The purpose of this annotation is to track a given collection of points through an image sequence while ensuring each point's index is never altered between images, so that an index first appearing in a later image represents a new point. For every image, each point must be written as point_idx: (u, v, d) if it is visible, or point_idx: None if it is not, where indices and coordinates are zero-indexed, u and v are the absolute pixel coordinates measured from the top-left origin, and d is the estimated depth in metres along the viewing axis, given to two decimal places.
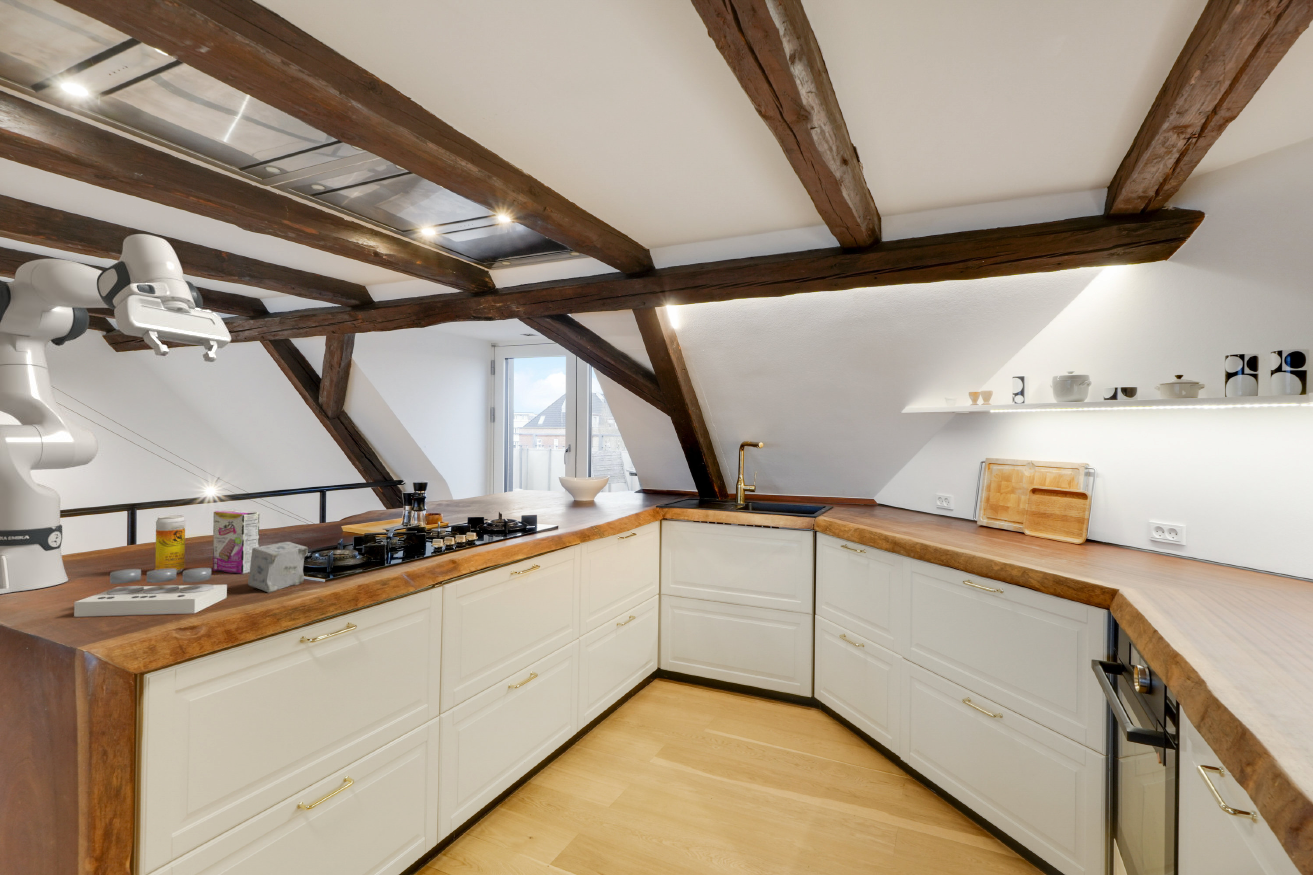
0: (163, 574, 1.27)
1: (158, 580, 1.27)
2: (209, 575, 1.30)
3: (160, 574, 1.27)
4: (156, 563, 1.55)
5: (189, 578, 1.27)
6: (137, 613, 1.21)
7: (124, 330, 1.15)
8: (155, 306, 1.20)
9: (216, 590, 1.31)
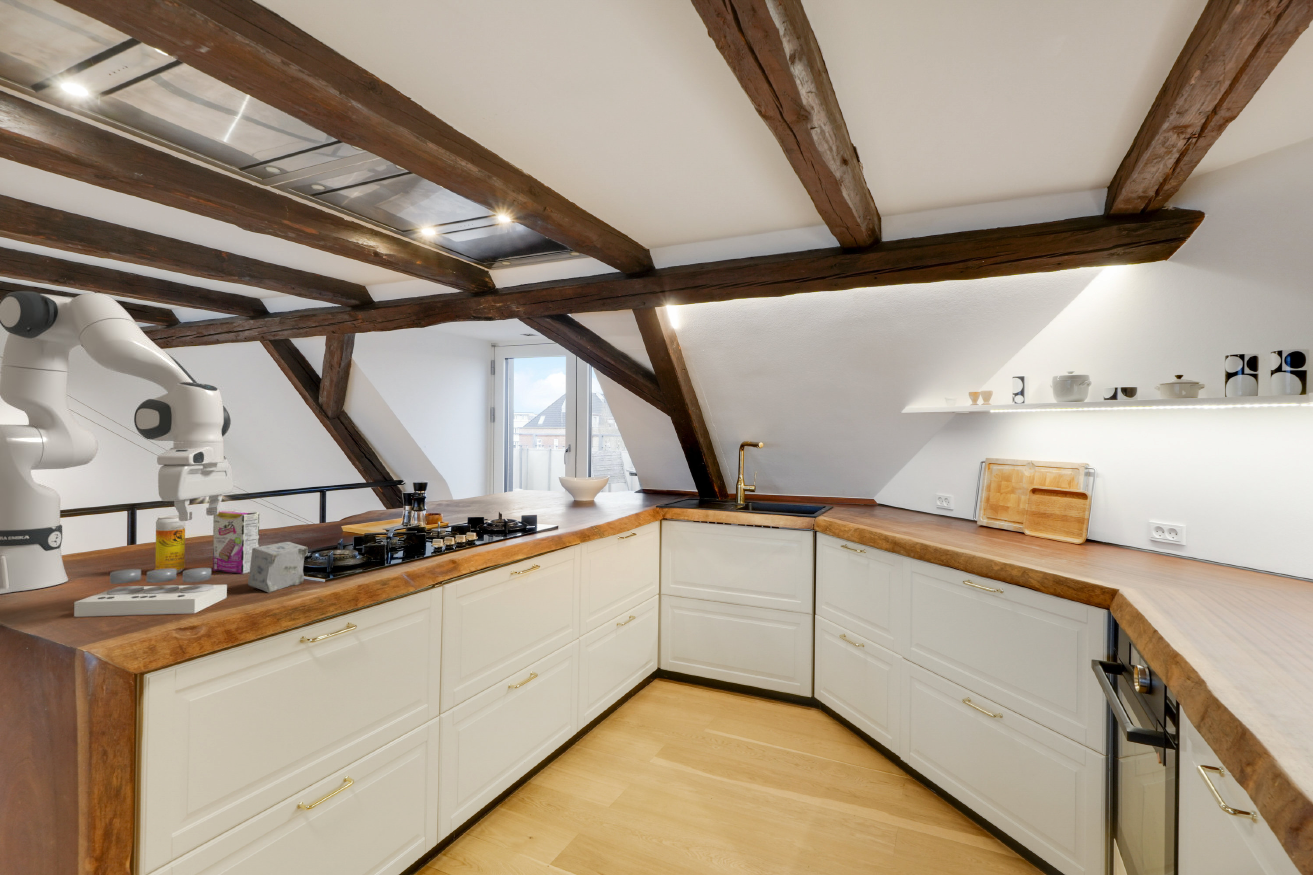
0: (163, 574, 1.27)
1: (158, 580, 1.27)
2: (209, 575, 1.30)
3: (160, 574, 1.27)
4: (156, 563, 1.55)
5: (189, 578, 1.27)
6: (137, 613, 1.21)
7: (165, 499, 1.20)
8: (196, 471, 1.26)
9: (216, 590, 1.31)
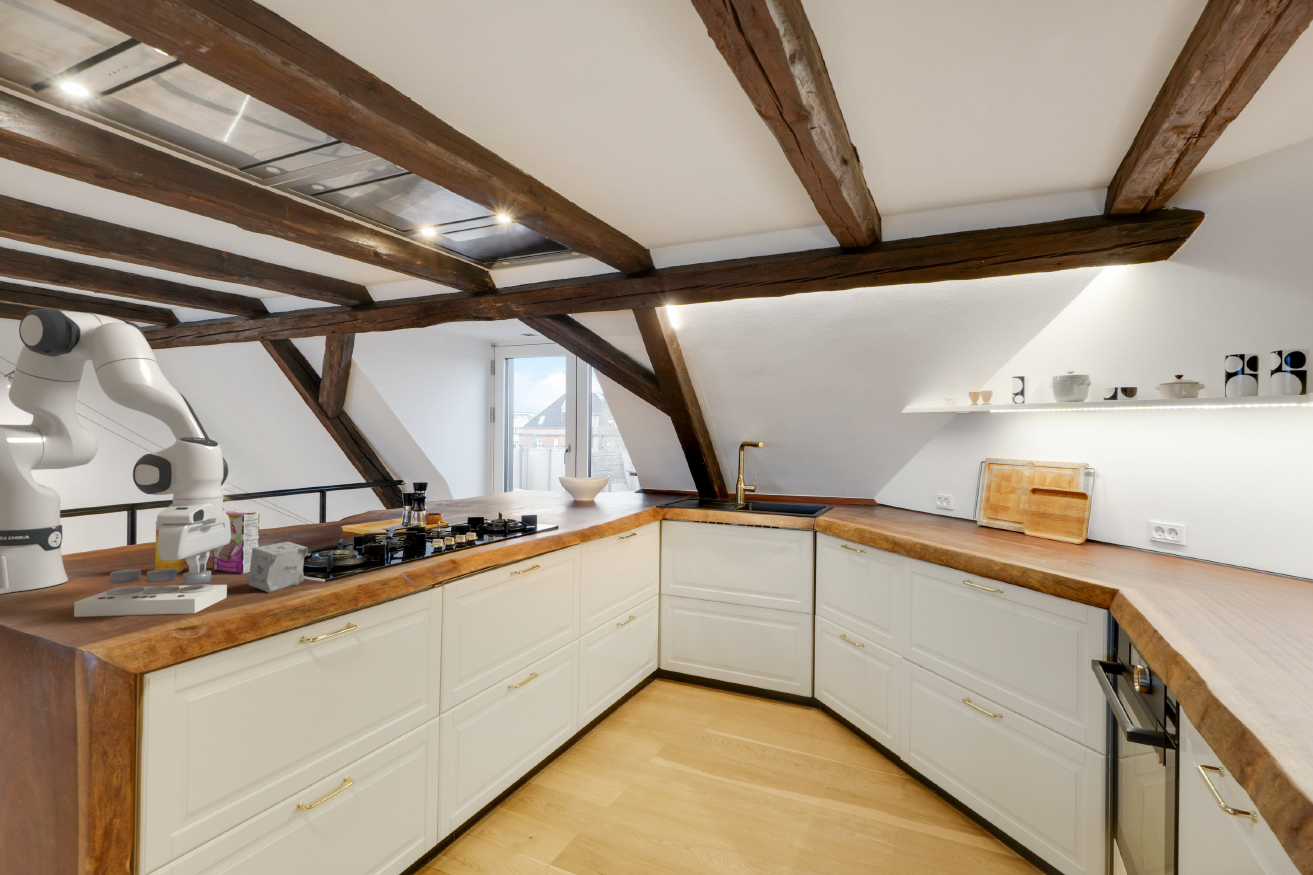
0: (163, 574, 1.27)
1: (158, 580, 1.27)
2: (209, 578, 1.30)
3: (160, 574, 1.27)
4: (156, 563, 1.55)
5: (189, 581, 1.27)
6: (137, 613, 1.21)
7: (164, 559, 1.20)
8: (195, 528, 1.26)
9: (216, 590, 1.31)
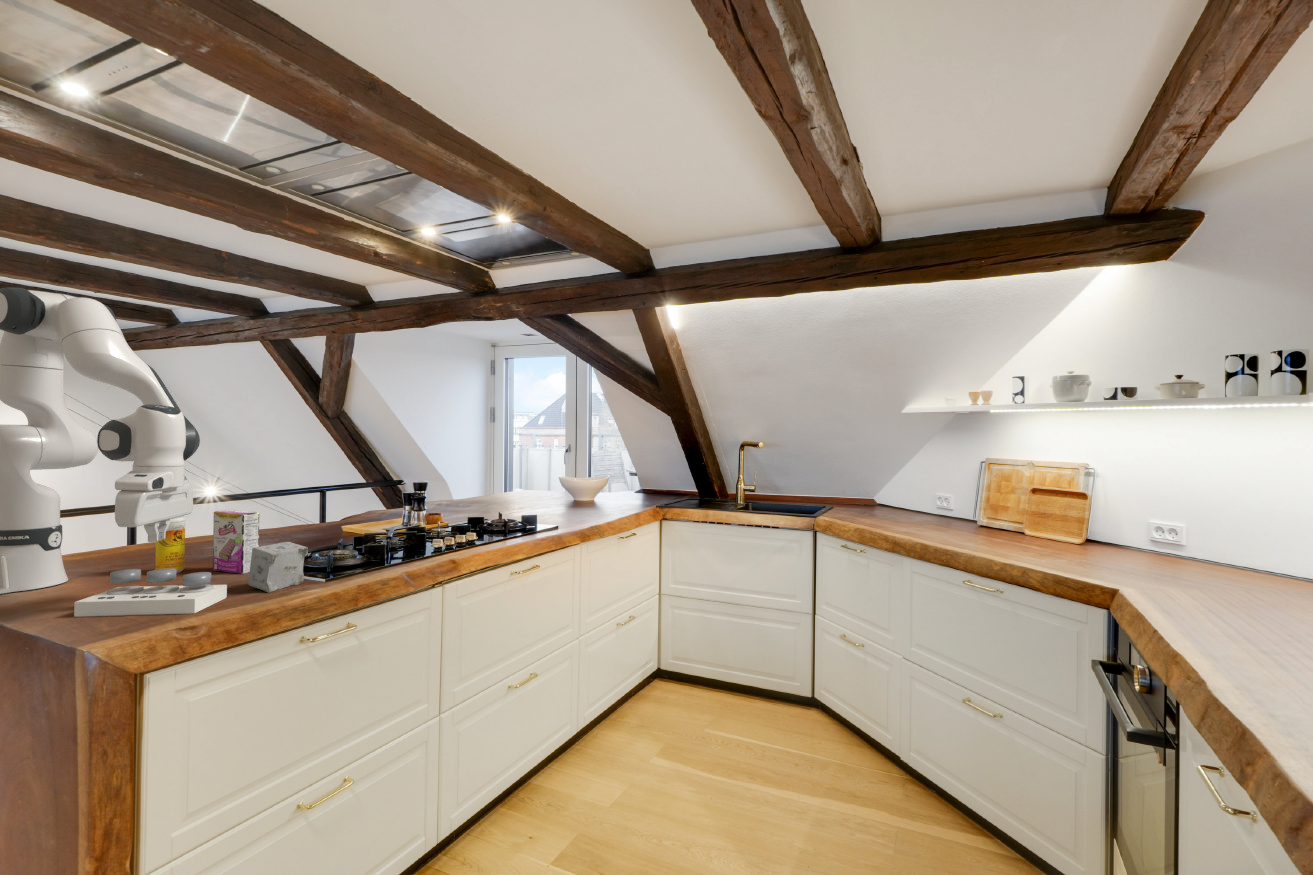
0: (163, 574, 1.27)
1: (158, 580, 1.27)
2: (209, 579, 1.30)
3: (160, 574, 1.27)
4: (156, 563, 1.55)
5: (189, 582, 1.27)
6: (137, 613, 1.21)
7: (121, 525, 1.19)
8: (154, 496, 1.25)
9: (216, 590, 1.31)
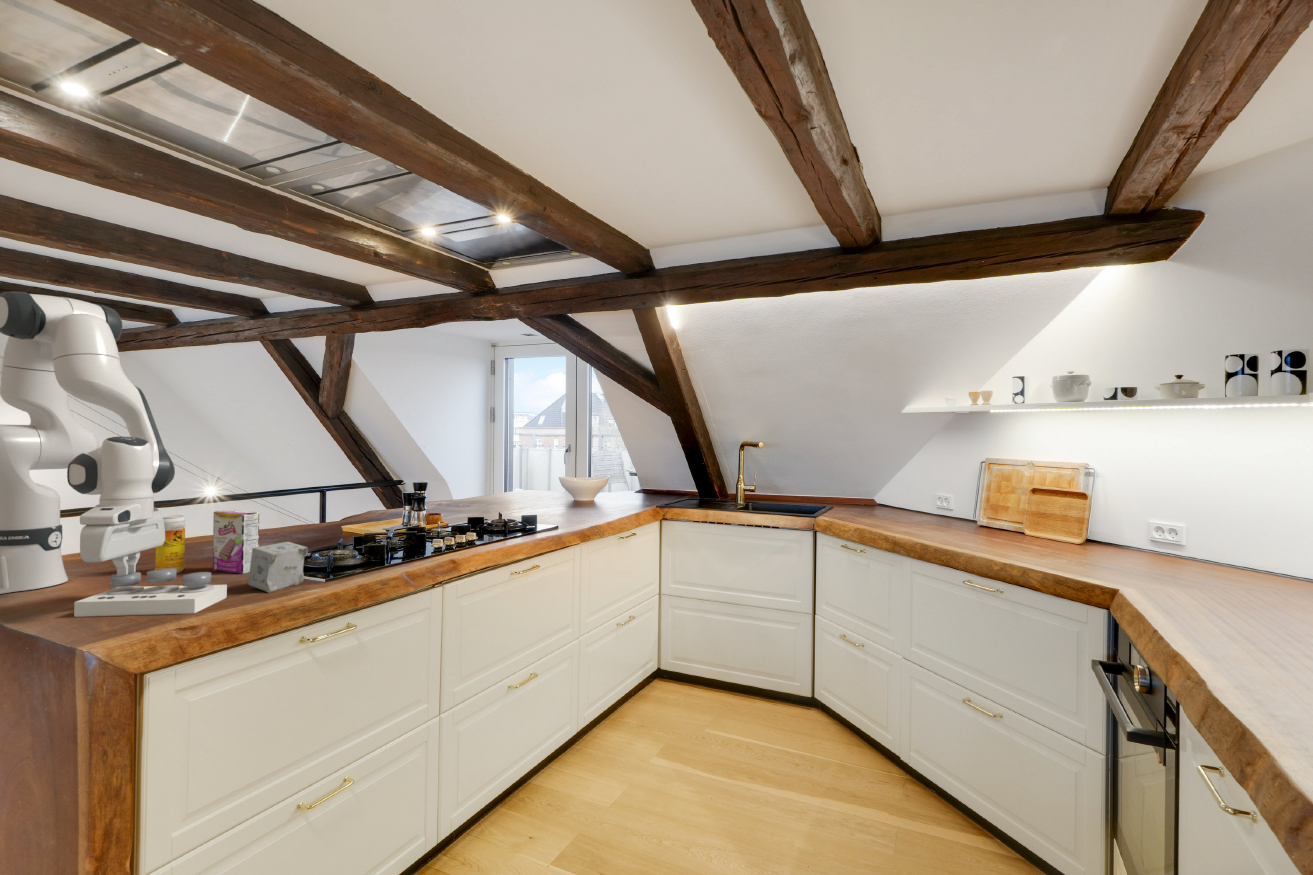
0: (163, 574, 1.27)
1: (158, 580, 1.27)
2: (209, 579, 1.30)
3: (160, 574, 1.27)
4: (156, 563, 1.55)
5: (189, 582, 1.27)
6: (137, 613, 1.21)
7: (86, 560, 1.18)
8: (122, 530, 1.24)
9: (216, 590, 1.31)
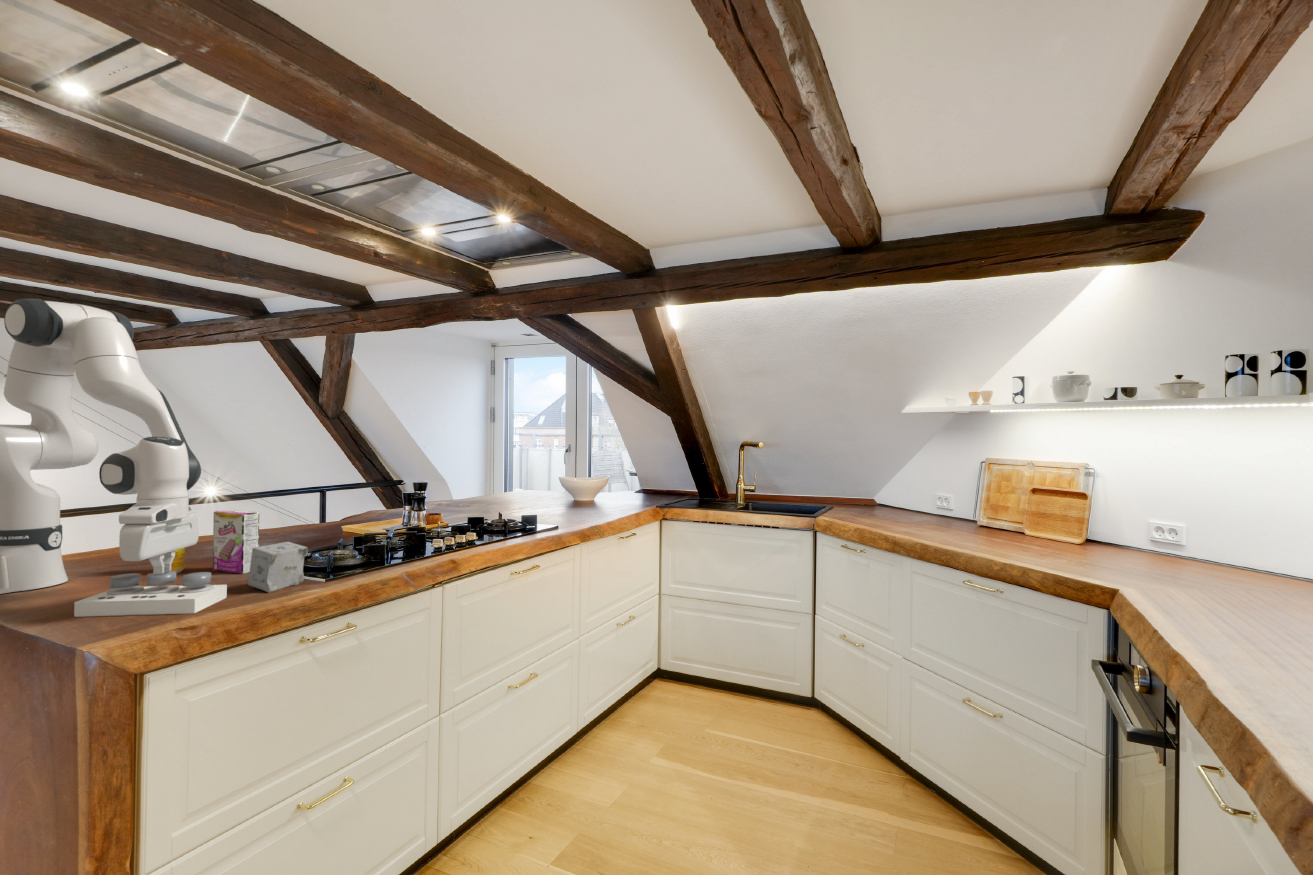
0: (163, 577, 1.27)
1: (158, 583, 1.27)
2: (209, 579, 1.30)
3: (160, 577, 1.27)
4: None
5: (189, 582, 1.27)
6: (137, 613, 1.21)
7: (126, 559, 1.19)
8: (159, 529, 1.25)
9: (216, 590, 1.31)
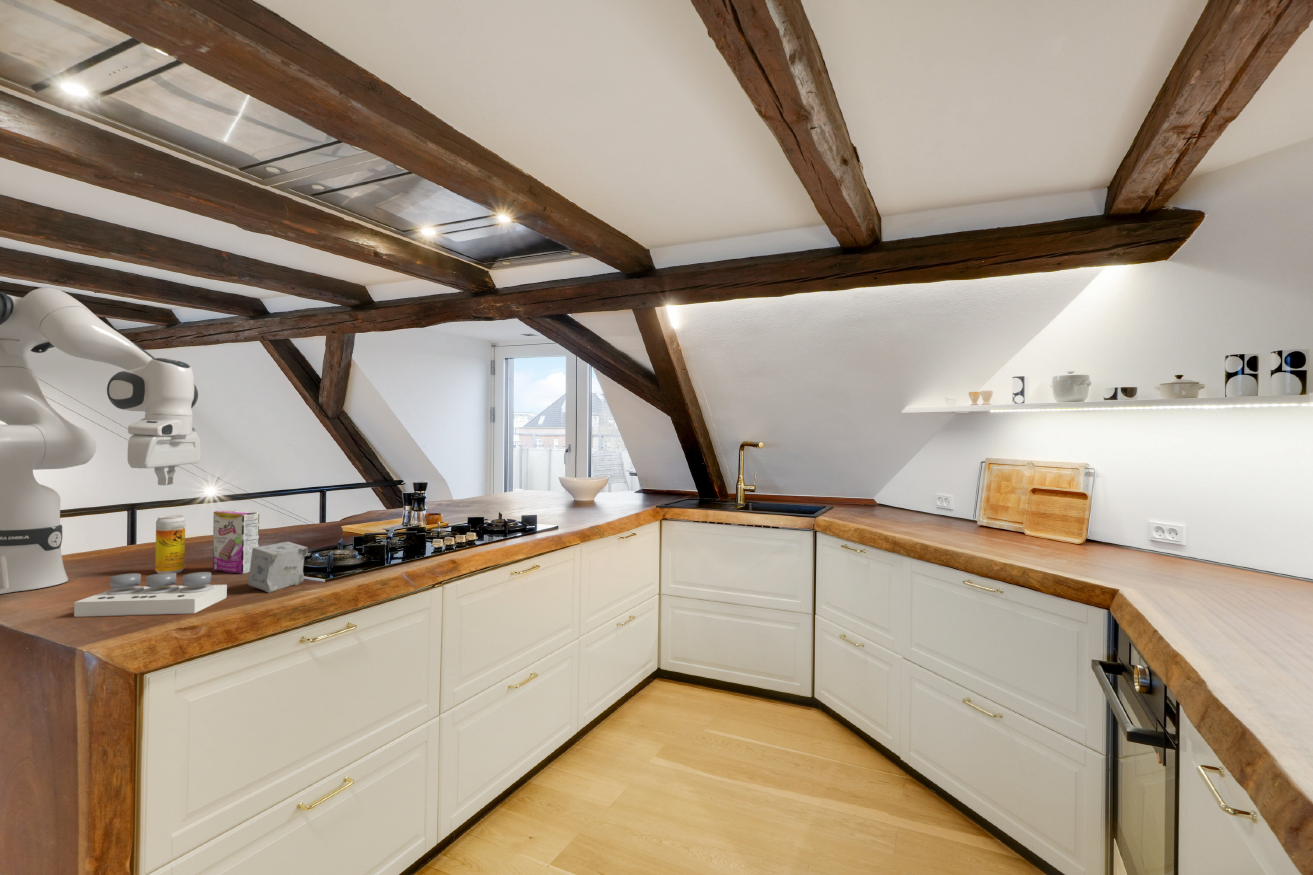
0: (163, 578, 1.27)
1: (158, 584, 1.27)
2: (209, 579, 1.30)
3: (160, 579, 1.27)
4: (156, 563, 1.55)
5: (189, 582, 1.27)
6: (137, 613, 1.21)
7: (133, 466, 1.30)
8: (164, 442, 1.35)
9: (216, 590, 1.31)
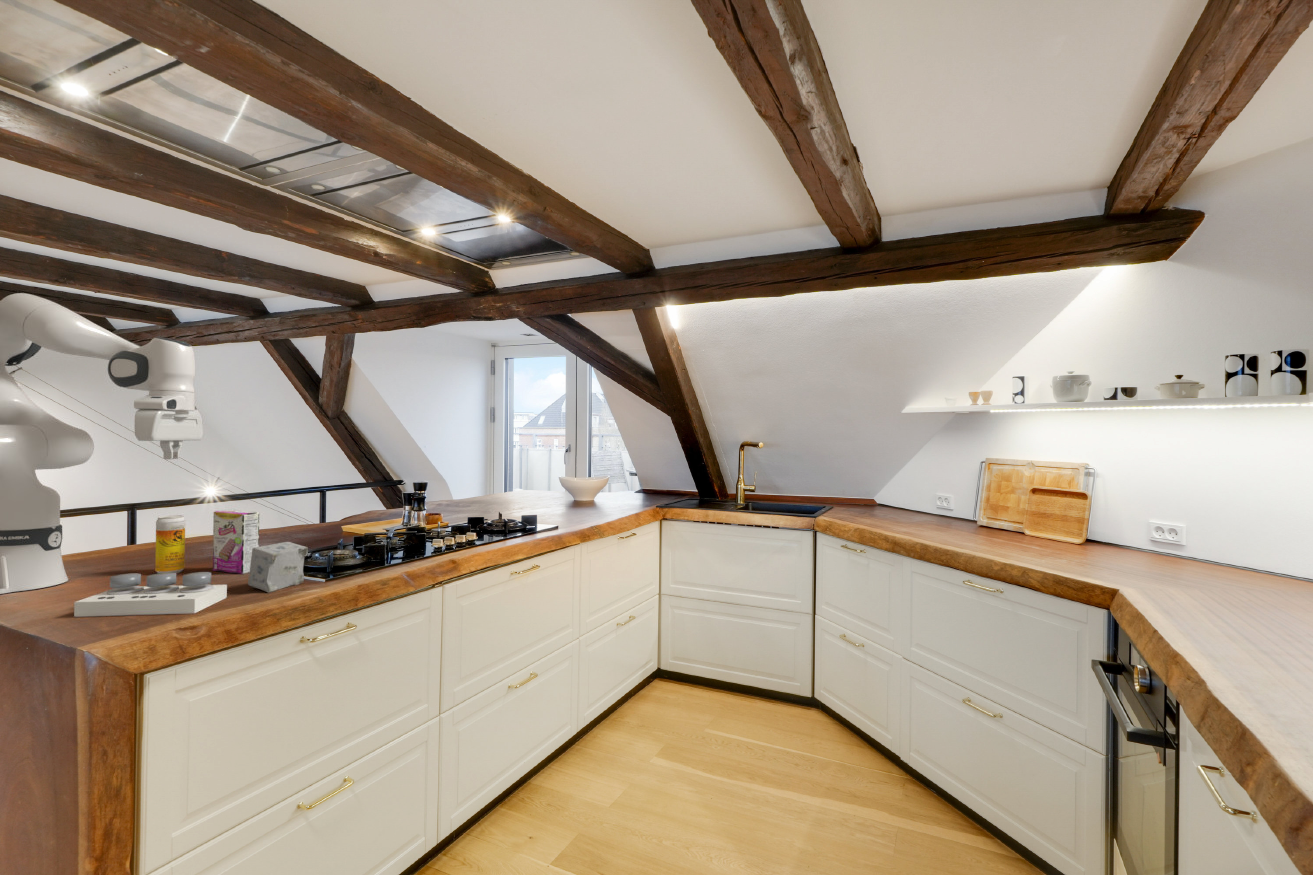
0: (163, 578, 1.27)
1: (158, 584, 1.27)
2: (209, 579, 1.30)
3: (160, 579, 1.27)
4: (156, 563, 1.55)
5: (189, 582, 1.27)
6: (137, 613, 1.21)
7: (140, 439, 1.35)
8: (169, 417, 1.41)
9: (216, 590, 1.31)
